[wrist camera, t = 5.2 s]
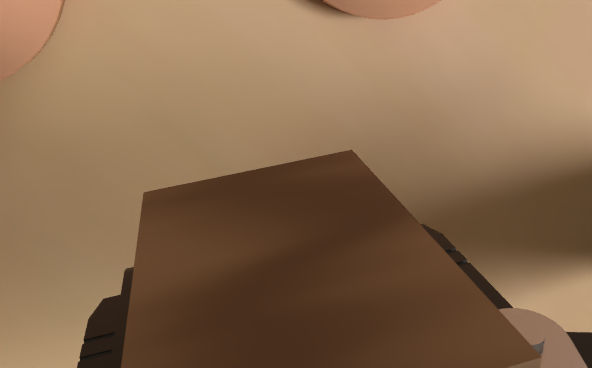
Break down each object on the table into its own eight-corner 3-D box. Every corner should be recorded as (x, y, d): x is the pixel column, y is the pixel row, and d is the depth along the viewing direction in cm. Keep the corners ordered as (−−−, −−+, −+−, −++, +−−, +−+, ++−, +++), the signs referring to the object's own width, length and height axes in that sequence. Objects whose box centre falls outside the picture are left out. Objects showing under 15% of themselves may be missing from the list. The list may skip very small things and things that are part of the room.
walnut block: (351, 150, 10) (542, 356, 5) (361, 304, 12) (501, 565, 7) (143, 192, 9) (104, 487, 4) (191, 349, 12) (205, 675, 6)
